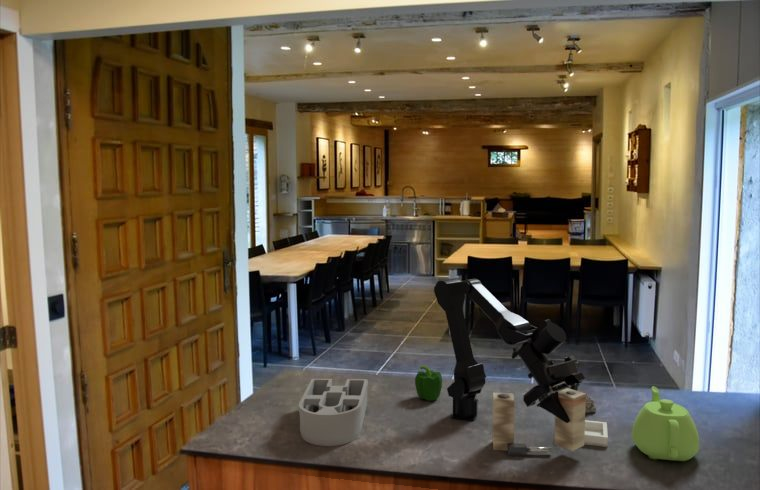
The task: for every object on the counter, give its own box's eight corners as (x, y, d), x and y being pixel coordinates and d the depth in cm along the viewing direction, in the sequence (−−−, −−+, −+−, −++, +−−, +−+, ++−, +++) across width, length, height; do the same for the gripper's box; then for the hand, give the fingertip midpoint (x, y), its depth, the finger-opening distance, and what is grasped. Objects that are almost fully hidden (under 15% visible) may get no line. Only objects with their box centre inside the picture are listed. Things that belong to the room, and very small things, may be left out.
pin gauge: (508, 455, 154) (508, 447, 154) (507, 451, 156) (507, 443, 156) (552, 456, 153) (552, 447, 153) (550, 452, 156) (550, 443, 155)
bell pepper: (448, 397, 194) (448, 365, 193) (432, 405, 188) (432, 372, 187) (426, 391, 200) (426, 360, 199) (410, 398, 194) (409, 367, 193)
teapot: (622, 430, 168) (624, 383, 167) (683, 434, 166) (685, 386, 164) (640, 468, 147) (642, 414, 145) (710, 473, 144) (713, 418, 143)
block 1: (493, 449, 157) (493, 399, 156) (492, 441, 162) (493, 392, 161) (513, 450, 157) (514, 400, 155) (512, 442, 162) (513, 393, 160)
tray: (557, 441, 162) (558, 431, 162) (559, 426, 172) (559, 417, 171) (607, 446, 158) (607, 437, 158) (606, 431, 168) (606, 422, 168)
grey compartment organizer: (368, 407, 188) (367, 379, 187) (359, 448, 160) (358, 415, 159) (312, 406, 189) (311, 378, 188) (294, 447, 161) (293, 414, 160)
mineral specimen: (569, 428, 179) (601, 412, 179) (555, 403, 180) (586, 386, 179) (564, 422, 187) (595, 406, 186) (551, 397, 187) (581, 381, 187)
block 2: (554, 444, 154) (555, 392, 152) (566, 438, 157) (567, 387, 155) (572, 451, 150) (573, 398, 148) (584, 445, 153) (586, 393, 152)
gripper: (534, 353, 148) (574, 413, 141) (579, 339, 159) (618, 393, 152) (507, 378, 155) (543, 435, 147) (552, 363, 166) (588, 415, 159)
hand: (575, 419), depth 151 cm, fingers closed on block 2, 5 cm apart
